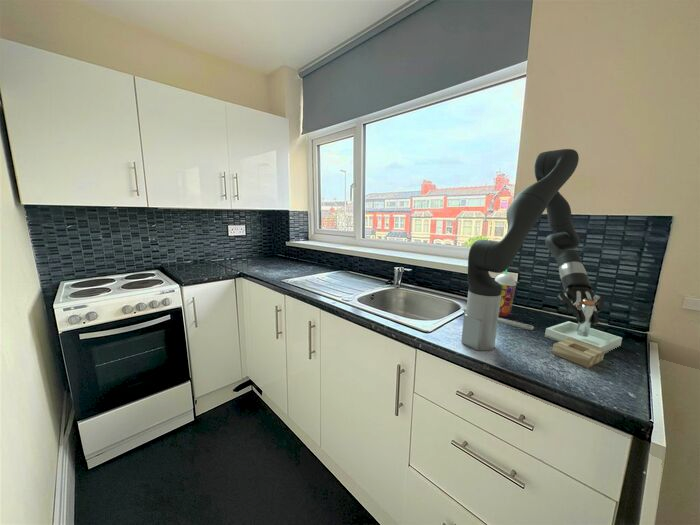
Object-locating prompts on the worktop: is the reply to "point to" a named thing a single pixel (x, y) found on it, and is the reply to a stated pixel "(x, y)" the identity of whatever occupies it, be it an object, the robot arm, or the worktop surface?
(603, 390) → the worktop surface
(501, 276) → the smoothie
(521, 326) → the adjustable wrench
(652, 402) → the worktop surface
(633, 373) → the worktop surface
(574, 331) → the tray
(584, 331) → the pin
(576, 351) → the block
